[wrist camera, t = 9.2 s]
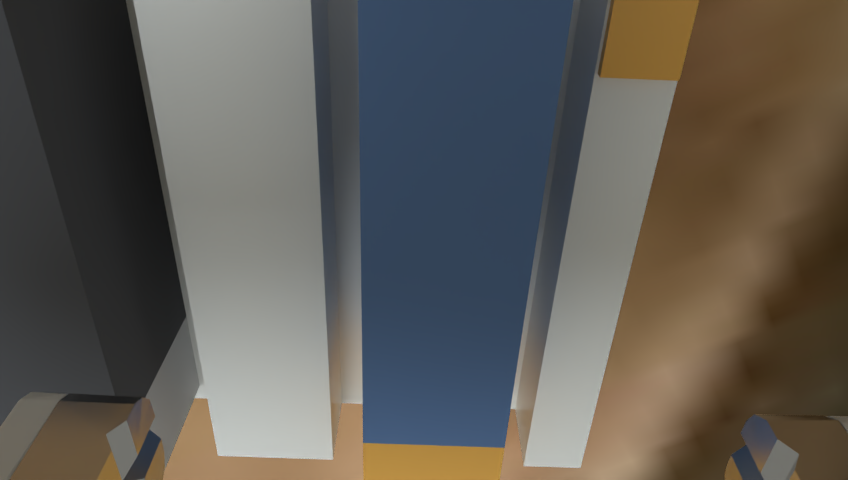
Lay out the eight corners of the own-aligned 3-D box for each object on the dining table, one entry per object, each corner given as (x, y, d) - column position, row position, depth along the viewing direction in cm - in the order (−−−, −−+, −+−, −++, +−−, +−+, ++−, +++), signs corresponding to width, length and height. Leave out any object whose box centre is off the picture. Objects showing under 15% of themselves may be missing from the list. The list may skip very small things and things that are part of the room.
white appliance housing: (-161, -134, 13) (-323, -124, 10) (660, -96, 13) (721, -76, 10) (26, 367, 20) (-38, 453, 17) (561, 385, 20) (582, 474, 17)
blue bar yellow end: (377, -74, 12) (357, -38, 9) (537, -67, 12) (578, -28, 9) (376, 391, 19) (364, 516, 15) (481, 395, 19) (493, 521, 15)
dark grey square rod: (-54, -94, 12) (-242, -65, 9) (108, -87, 12) (-16, -55, 9) (92, 381, 18) (17, 505, 15) (199, 385, 19) (148, 509, 15)
